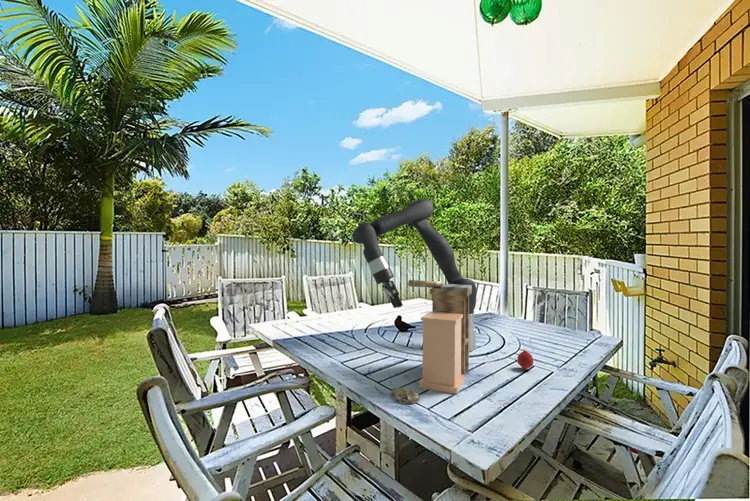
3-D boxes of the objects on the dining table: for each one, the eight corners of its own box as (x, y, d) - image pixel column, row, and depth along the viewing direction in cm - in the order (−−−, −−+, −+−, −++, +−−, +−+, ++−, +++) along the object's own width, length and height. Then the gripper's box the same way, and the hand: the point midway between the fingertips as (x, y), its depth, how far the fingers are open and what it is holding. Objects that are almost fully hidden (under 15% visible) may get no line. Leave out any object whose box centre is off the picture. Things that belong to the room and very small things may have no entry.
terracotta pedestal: (418, 387, 122) (419, 317, 122) (429, 375, 134) (429, 311, 134) (457, 394, 117) (457, 321, 117) (464, 380, 129) (464, 314, 128)
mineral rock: (426, 392, 114) (411, 392, 108) (425, 406, 113) (409, 407, 107) (401, 384, 121) (385, 383, 116) (399, 397, 120) (383, 398, 115)
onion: (532, 368, 142) (532, 348, 142) (534, 373, 136) (534, 352, 136) (516, 366, 144) (517, 346, 144) (517, 371, 138) (517, 350, 138)
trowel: (405, 287, 141) (405, 281, 141) (412, 285, 149) (412, 279, 149) (467, 290, 131) (467, 283, 131) (471, 288, 139) (471, 281, 139)
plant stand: (429, 372, 137) (429, 289, 136) (436, 364, 146) (436, 286, 145) (466, 378, 131) (467, 291, 130) (471, 369, 140) (471, 288, 139)
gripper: (391, 263, 136) (410, 302, 135) (386, 268, 150) (403, 303, 149) (374, 272, 135) (393, 311, 133) (370, 275, 149) (387, 311, 147)
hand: (398, 307), depth 141 cm, fingers open, 8 cm apart
